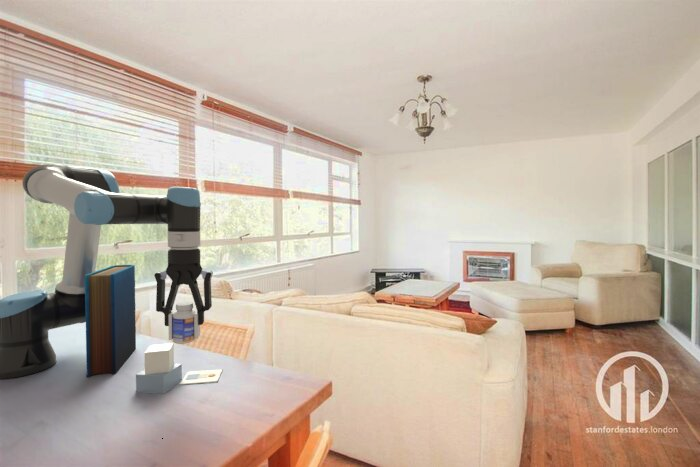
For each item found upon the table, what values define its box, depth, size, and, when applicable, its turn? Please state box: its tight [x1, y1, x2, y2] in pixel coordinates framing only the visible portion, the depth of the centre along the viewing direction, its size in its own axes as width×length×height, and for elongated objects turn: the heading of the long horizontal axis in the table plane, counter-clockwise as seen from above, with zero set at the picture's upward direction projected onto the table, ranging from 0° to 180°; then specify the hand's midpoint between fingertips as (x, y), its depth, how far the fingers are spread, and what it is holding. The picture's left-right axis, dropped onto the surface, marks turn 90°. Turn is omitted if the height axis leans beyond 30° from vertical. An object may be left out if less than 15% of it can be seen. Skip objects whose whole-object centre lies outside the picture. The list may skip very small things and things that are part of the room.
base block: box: [135, 362, 183, 394], centre depth 96 cm, size 8×8×5 cm
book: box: [85, 264, 137, 378], centre depth 113 cm, size 24×9×30 cm, turn 18°
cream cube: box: [144, 342, 175, 375], centre depth 96 cm, size 6×6×6 cm
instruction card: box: [179, 368, 223, 386], centre depth 102 cm, size 10×8×1 cm
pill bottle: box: [172, 301, 197, 345], centre depth 89 cm, size 5×5×10 cm
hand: (184, 337), depth 89 cm, fingers closed on pill bottle, 5 cm apart
